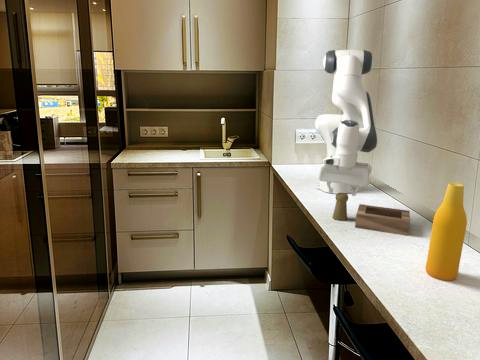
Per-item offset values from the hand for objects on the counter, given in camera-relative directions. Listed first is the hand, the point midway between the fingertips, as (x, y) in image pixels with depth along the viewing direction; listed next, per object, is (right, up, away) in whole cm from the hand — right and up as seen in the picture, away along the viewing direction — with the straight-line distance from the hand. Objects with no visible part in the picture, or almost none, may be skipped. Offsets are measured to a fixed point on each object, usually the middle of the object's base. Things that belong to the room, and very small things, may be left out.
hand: (342, 193), depth 183 cm
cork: (0, -11, +3) cm, 11 cm away
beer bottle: (+20, -24, -45) cm, 55 cm away
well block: (+15, -13, -3) cm, 20 cm away
